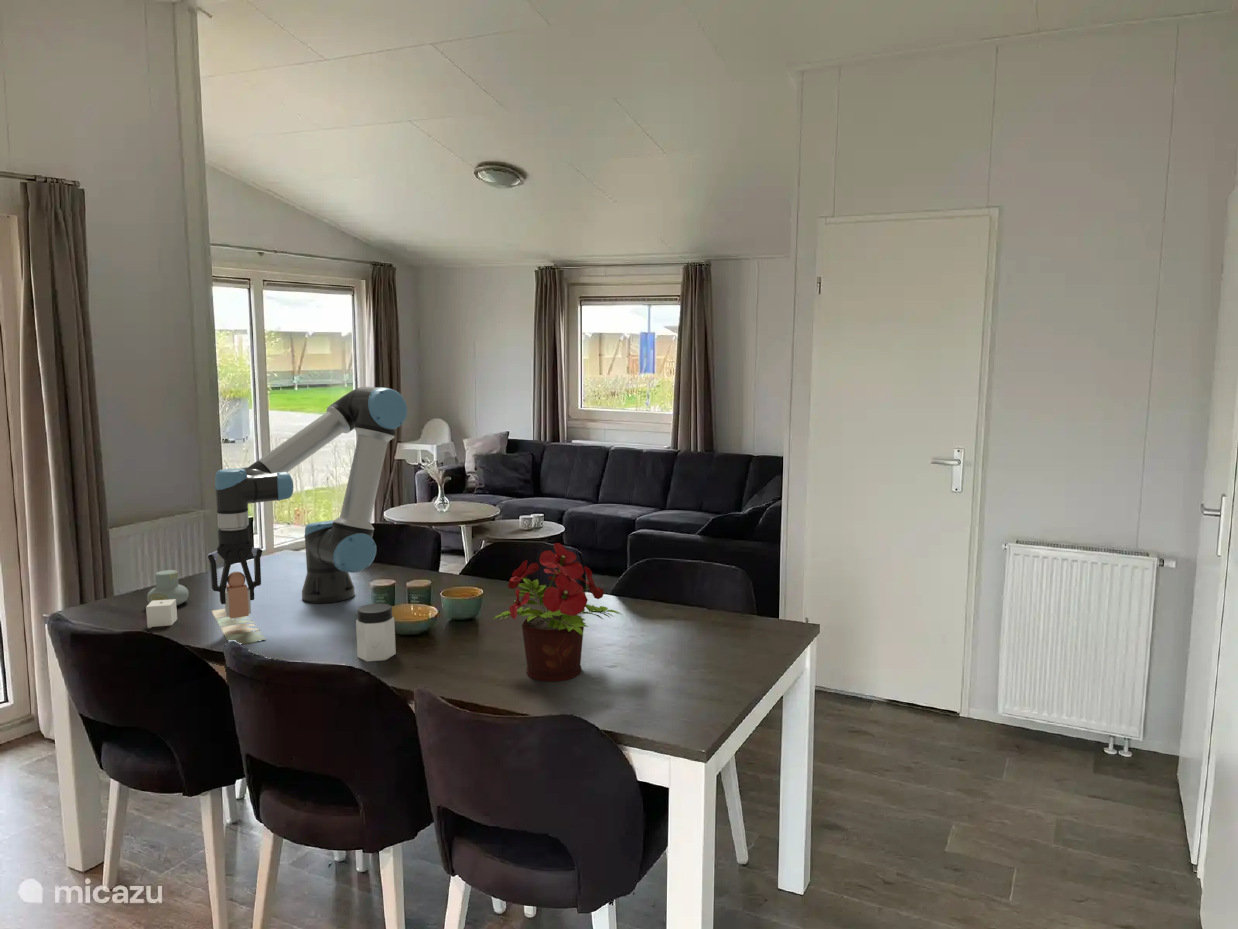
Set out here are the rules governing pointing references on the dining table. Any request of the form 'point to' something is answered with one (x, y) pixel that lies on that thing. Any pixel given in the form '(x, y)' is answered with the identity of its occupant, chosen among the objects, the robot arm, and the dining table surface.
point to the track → (237, 628)
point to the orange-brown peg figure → (237, 595)
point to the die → (161, 613)
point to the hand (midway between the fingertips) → (238, 613)
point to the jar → (375, 632)
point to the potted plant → (554, 615)
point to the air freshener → (168, 588)
